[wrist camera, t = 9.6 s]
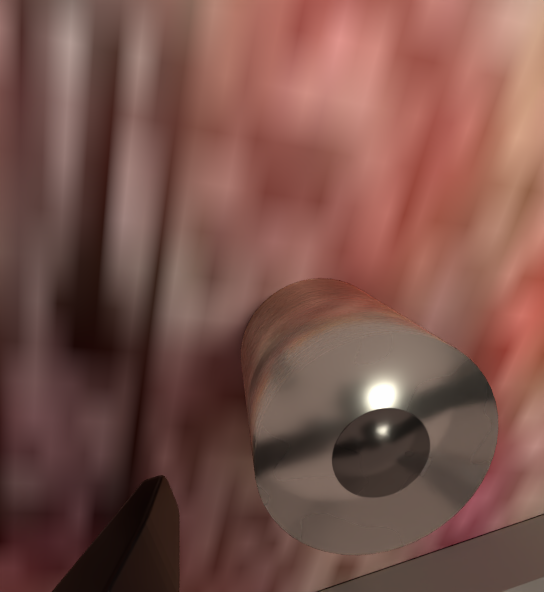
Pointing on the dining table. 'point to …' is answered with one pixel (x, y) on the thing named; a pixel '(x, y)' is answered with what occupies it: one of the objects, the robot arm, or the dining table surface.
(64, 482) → the dining table surface
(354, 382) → the steel spacer
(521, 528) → the kitchen scale
